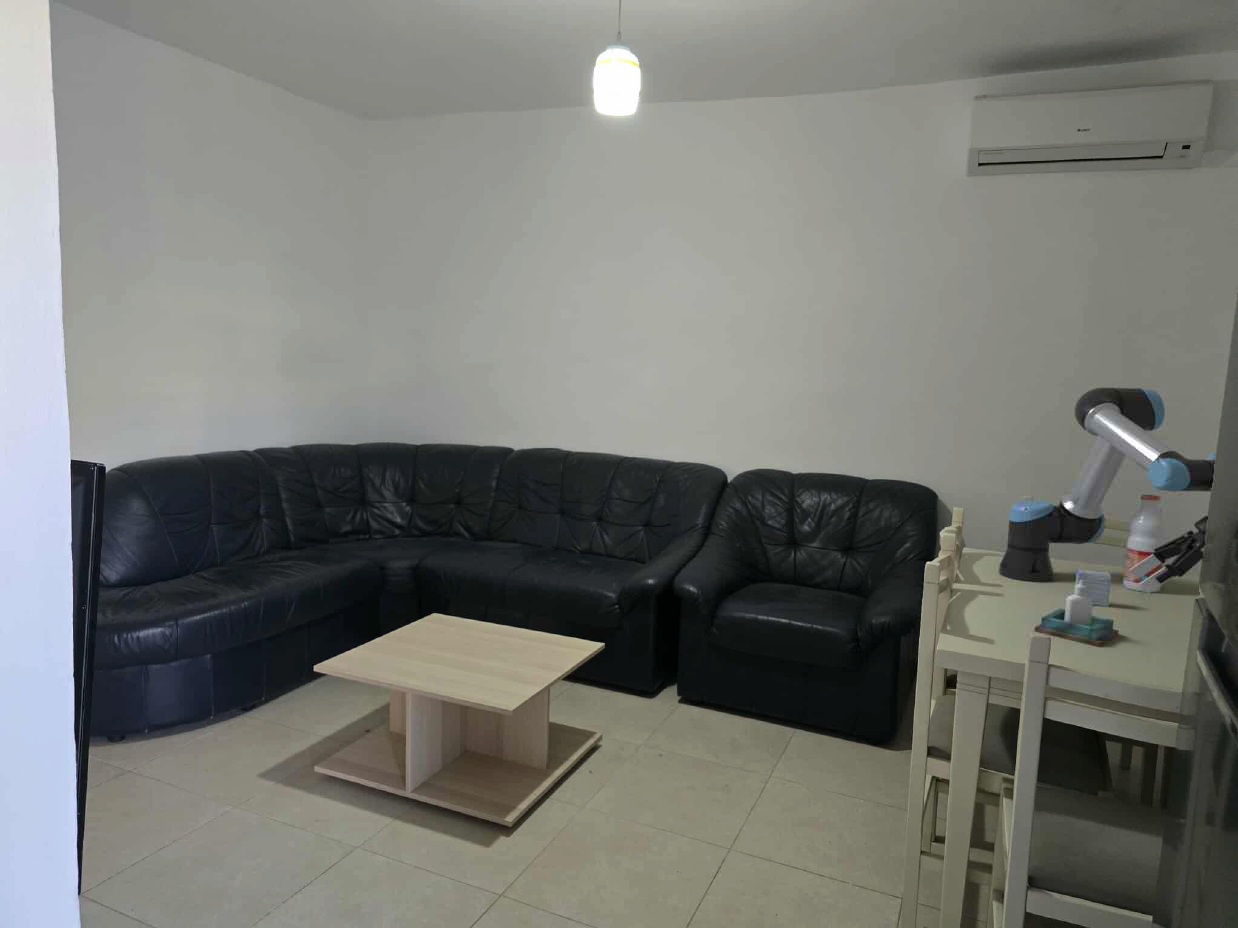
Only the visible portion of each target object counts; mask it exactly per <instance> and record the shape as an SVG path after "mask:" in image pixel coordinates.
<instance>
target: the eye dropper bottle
mask: <svg viewBox="0 0 1238 928" xmlns="http://www.w3.org/2000/svg"><path fill="white" fill-rule="evenodd" d="M1086 590H1087V587H1086V586H1085V585H1084V583H1083V580H1080V581H1079V584H1078V585H1076V584H1074V594H1071V595H1068V596H1067V597H1066V602H1065V608H1064V609H1065V619H1064V621H1067V622H1071V623H1076V624H1080V625H1084V626H1089V627H1091V618H1092V616H1093V606H1094V605H1093V600H1092V599H1091V598H1090V597H1088V596H1086Z"/></svg>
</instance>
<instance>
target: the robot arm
mask: <svg viewBox="0 0 1238 928" xmlns="http://www.w3.org/2000/svg"><path fill="white" fill-rule="evenodd" d="M1165 413H1166V410H1165V405H1164V401H1163V399H1162V397H1161V396H1160V394H1159V393H1158V392H1156V391H1155V390H1153V389H1149V388H1141V387H1136V388H1135V387H1134V388H1132V387H1131V388H1130V387H1127V388H1126V387H1097V388H1092V389H1090V390H1088V391H1086V392H1084V393H1083V394H1082V395H1081V396H1080V397H1079V398H1078V400H1077V401H1076V403H1075V407H1074V418H1075V420H1076V422H1077V424H1079V426H1080V427H1081V428H1082V429H1083V430H1085V431H1086V432H1087V433H1089V434H1090V435H1091V436H1095V437H1097V439H1096V441H1095V443H1094V445H1093V447H1092V449H1091V451H1090V453H1089V455H1088V457H1087V459H1086V462H1085V463H1084V466H1083V468H1082V470H1081V471H1080V474H1079V475H1078V478H1077V479H1076V481H1075V483H1074V486H1073V488H1072V489H1071V492H1070V493H1067V494H1065V495H1063V496H1062V498H1061V500H1060V502H1059V504H1058V505H1053V502H1051V501H1048V500H1039V499H1037V500H1034V499H1033V500H1031V499H1030V500H1021V501H1018V502H1014V503H1013V504H1012V505H1011V506H1010V511H1009V516H1008V519H1009V520H1008V533H1007V546H1006V550H1005V553H1004V555H1003V557H1002V558H1001V561H1000V563H999V567H998V568H999V569H998V573H999V574H1000V575H1001V576H1003V577H1006V578H1010V579H1014V580H1019V581H1027V582H1039V583H1040V582H1042V583H1043V582H1050V581H1053V580H1054V569H1053V565H1052V561H1051V557H1050V552H1049V551H1050V546H1051V545H1050V544H1074V545H1082V544H1083V545H1084V544H1091V543H1094V542H1097V540H1099V538H1101V537H1102V535H1103V534H1104V531H1105V528H1106V525H1105V524H1104V523H1106V518H1105V515H1104V510H1103V508H1102V506H1101V505H1102V503H1103V502H1104V499H1105V498H1106V496H1107V493H1108V491H1109V490H1110V488H1111V486H1112V484H1113V482H1114V481H1115V478H1116V476H1117V475H1118V473H1119V471H1120V469H1121V467H1122V465H1123V463H1124V461H1125V460H1126V458H1129V459H1130V460H1132V461H1133V462H1134V463H1135V464H1136V465H1138V466H1140V467H1141V468H1142V469H1143V470H1145V471H1146V472H1148V474H1147V475H1148V477H1147V478H1148V480H1149V482H1150V483H1151V486H1152V487H1153V488H1154V489H1156V490H1159V491H1167V492H1172V493H1173V492H1211V488H1212V483H1213V474H1214V464H1215V459H1216V454H1217V453H1215V454H1211V455H1209V456H1208V457H1206V458H1205V459H1190V458H1187V457H1186V456H1184V455H1183V454H1181V453H1179V452H1178V451H1176V450H1174V448H1171V447H1170V446H1168V445H1167V444H1166V443H1164V442H1162V440H1160V439H1159V438H1157V437H1155V436H1154V435H1153V434H1151V433H1150V432H1152V431H1154V430H1157V429H1159V428H1160V427H1161V426H1162V424H1163V422H1164V420H1165V416H1166V415H1165ZM1208 516H1209V515H1205V516H1204V517H1202V518H1200V519H1199V520H1197V521H1196V522H1194V524H1193V526H1194V528H1196V529H1197V532H1194V531H1193V530H1192V529H1191V530H1188V531H1187V532H1185V533H1184V534H1182V535H1180V536H1178V537H1177V538H1174V539H1172V540H1169V541H1168V542H1165V544H1164V545H1162V546H1160V547H1158V548H1155V549H1154V551H1155V552H1154V553H1153V554H1154V555H1153V554H1152V555H1151V556H1149V557H1148V558H1146V559H1145V560H1143V561H1142V562H1140V563H1139V564H1137V565H1135V566H1134V567H1132V568H1131V569H1129V571H1130V572H1131V573H1132V574H1133V575H1134V576H1135V577H1136V578H1137V579H1138V578H1140V577H1142V576H1143V575H1145V574H1146V573H1148V572H1149V571H1151V570H1152V569H1154V568H1155V567H1157V566H1158V565H1160V564H1161V563H1162V564H1163V568H1162V569H1161V570H1159V571H1158V572H1156V573H1155V574H1153V575H1151V576H1150V577H1148V578H1147V579H1145V580H1144V581H1142V582H1141V583H1139V584H1140V585H1141V586H1142V587H1143V588H1144V589H1145V590H1146V591H1147V592H1146V593H1147V594H1151V593H1152V592H1151V591H1153V590H1155V589H1156V588H1158V587H1159V586H1162V585H1165V583H1167V582H1168V581H1170V580H1172V579H1173V578H1174V577H1175V578H1177V577H1178V578H1182V577H1183V576H1185V574H1187V572H1189V571H1190V570H1191V569H1192V568H1193V567H1195V566H1196V565H1197V564H1198V563H1199V562H1200V561H1202V559H1204V557H1203V550H1204V545H1205V534H1206V525H1207V520H1208ZM1174 557H1175V559H1173V561H1172V562H1171V563H1170V564H1169V563H1167V564H1165V563H1166V561H1167V560H1169V559H1171V558H1174Z"/></svg>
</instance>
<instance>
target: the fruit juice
mask: <svg viewBox="0 0 1238 928" xmlns="http://www.w3.org/2000/svg"><path fill="white" fill-rule="evenodd" d="M1161 499H1162V497H1161V496H1160V495H1156V494H1155V495H1154V494H1141V495H1140V501H1141V504H1140V506H1139V508H1138V511H1137V512H1136V514H1135V515H1133V517H1132V518H1130V521H1129V530H1130V534H1129V536H1128V538H1127V542H1126V550H1125V551H1126V552H1125V560H1124V570H1123V578H1122V579H1123V582H1122V584H1123V587H1124V588H1126V589H1128V590H1132V591H1137V592H1141V593H1142V592H1143V593H1148V592H1147V591H1146V590H1145V589H1144V588H1143V587H1142V586H1141V585H1140V584H1139V583H1141V582H1142V581H1144V580H1145V579H1147V578H1148V577H1150V576H1151V575H1153V574H1155V573H1156V572H1158V571H1159V570H1161V569H1162V568H1164V564H1162V563H1161V564H1160V565H1158V566H1157V567H1155V568H1154V569H1152V570H1151V571H1149V572H1148V573H1146V574H1145V575H1143V576H1142V577H1140V578H1138V579H1137V578H1136V577H1135V576H1134V575H1133V574H1132V573H1131V572H1130V571H1129V569H1131V568H1132V567H1134V566H1135V565H1137V564H1139V563H1140V562H1142V561H1143V560H1145V559H1146V558H1148V557H1149V556H1151V555H1152V554H1153V553H1154V552H1155V551H1154V549H1155V548H1158V547H1160V546H1162V545H1164V544H1166V542H1165V539H1164V536H1165V534H1166V531H1167V522H1166V521H1165V519H1164V517H1163V516H1162V514H1161V510H1160V503H1161V501H1162V500H1161ZM1153 555H1154V554H1153ZM1161 586H1162V585H1161ZM1161 586H1159V587H1158V588H1156V589H1155V590H1153V591H1151V592H1150V593H1158V592H1160V590H1161Z"/></svg>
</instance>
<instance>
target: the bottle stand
mask: <svg viewBox="0 0 1238 928" xmlns="http://www.w3.org/2000/svg"><path fill="white" fill-rule="evenodd" d="M1065 609H1066V608H1059V609H1057V610H1054V611H1052V612H1050V613H1048V614H1046V615H1044V616H1042V617H1041V621H1040V622H1041V623H1040V624H1038V625H1035V627H1034V632H1036V633H1041V634H1044V633H1045V635H1048V636H1053V637H1058V638H1061V639H1066V640H1069V641H1074V642H1078V643H1082V644H1086V645H1089V646H1094V647H1098V648H1099V647H1100V646H1102V645H1104V644H1105V643H1107V642H1109V641H1110V640H1112V639H1113V638H1115V637H1116V636H1117V637H1118V635H1119V630H1117V629H1114V623H1115V622H1114V619H1110V618H1104V617H1101V616H1096V615H1092V618H1091V627H1089V626H1084V625H1080V624H1076V623H1071V622H1067V621H1064V619H1065Z"/></svg>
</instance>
